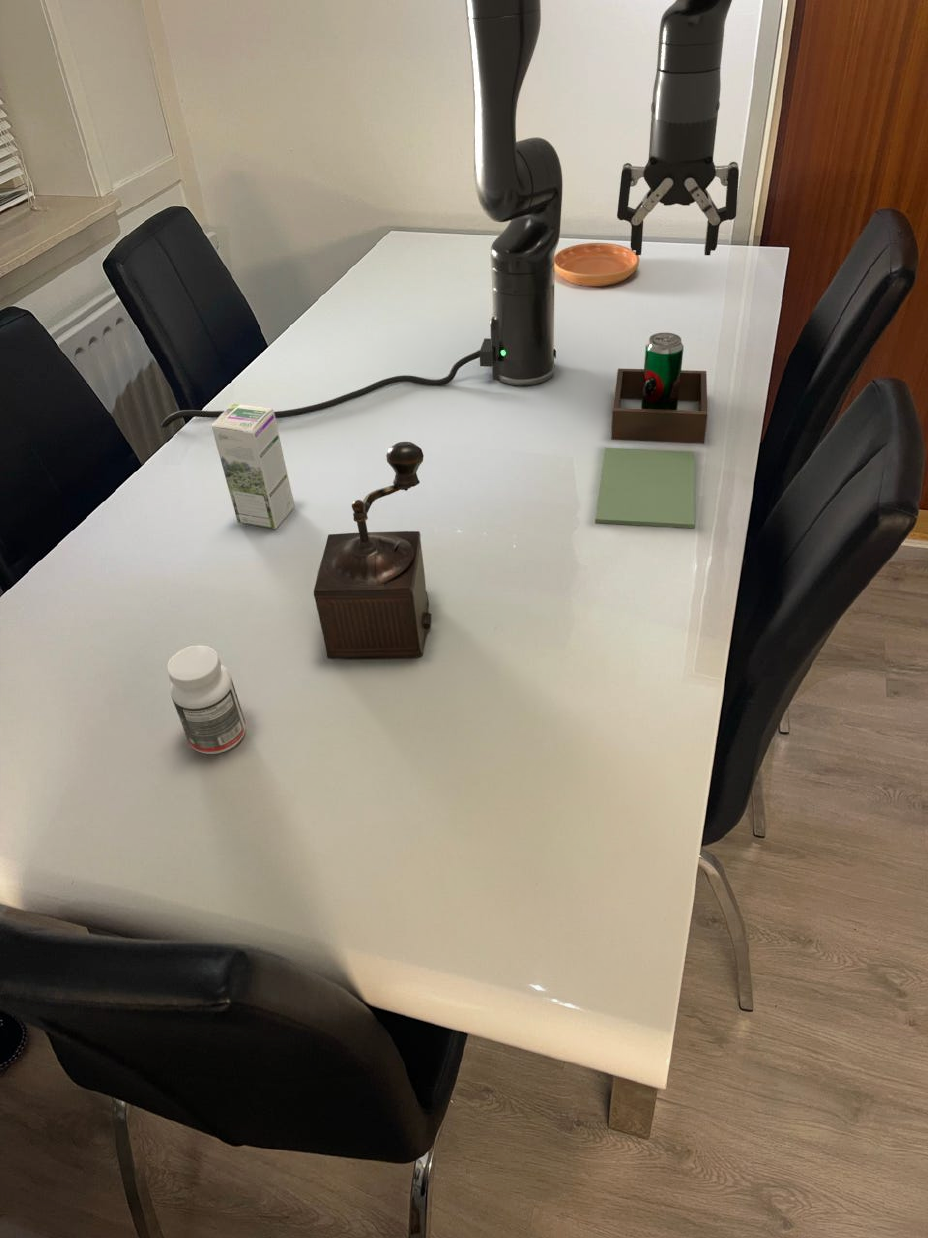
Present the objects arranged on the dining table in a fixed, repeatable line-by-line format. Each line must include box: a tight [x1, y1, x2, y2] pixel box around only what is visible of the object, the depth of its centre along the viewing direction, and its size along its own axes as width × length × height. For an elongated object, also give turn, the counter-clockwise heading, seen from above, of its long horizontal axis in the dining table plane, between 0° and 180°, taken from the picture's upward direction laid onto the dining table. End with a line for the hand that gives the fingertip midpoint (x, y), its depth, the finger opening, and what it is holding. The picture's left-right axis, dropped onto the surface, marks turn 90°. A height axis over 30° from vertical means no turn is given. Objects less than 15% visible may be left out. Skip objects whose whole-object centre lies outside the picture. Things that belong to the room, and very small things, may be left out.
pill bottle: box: [166, 645, 247, 755], centre depth 89 cm, size 6×6×10 cm
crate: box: [610, 367, 708, 444], centre depth 132 cm, size 13×13×4 cm
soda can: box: [640, 332, 684, 410], centre depth 130 cm, size 5×5×12 cm
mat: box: [594, 447, 696, 529], centre depth 121 cm, size 12×17×1 cm
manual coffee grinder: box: [313, 441, 433, 660], centre depth 99 cm, size 16×11×18 cm
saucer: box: [554, 242, 640, 287], centre depth 175 cm, size 16×16×3 cm
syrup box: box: [211, 403, 296, 530], centre depth 116 cm, size 6×6×14 cm
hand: (672, 253), depth 118 cm, fingers open, 8 cm apart
